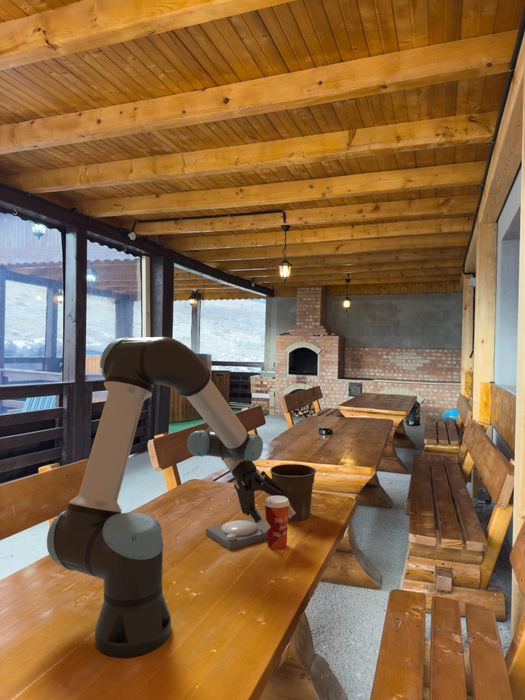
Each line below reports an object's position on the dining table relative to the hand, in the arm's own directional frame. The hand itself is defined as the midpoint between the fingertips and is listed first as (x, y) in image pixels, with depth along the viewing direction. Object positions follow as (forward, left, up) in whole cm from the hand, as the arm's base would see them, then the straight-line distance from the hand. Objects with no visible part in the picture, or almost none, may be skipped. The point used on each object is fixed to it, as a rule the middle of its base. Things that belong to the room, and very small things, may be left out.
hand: (280, 523), depth 139 cm
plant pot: (+19, +18, -7) cm, 27 cm away
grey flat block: (-6, +14, -7) cm, 16 cm away
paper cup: (-1, +1, -7) cm, 7 cm away
